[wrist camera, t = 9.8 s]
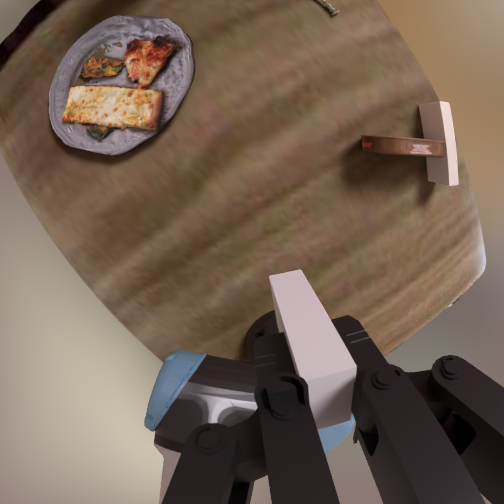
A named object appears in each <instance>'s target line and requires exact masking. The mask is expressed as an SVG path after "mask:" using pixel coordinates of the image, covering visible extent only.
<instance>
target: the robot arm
mask: <svg viewBox="0 0 504 504" xmlns="http://www.w3.org/2000/svg"><path fill="white" fill-rule="evenodd" d="M269 280H270V286H271V291H272V297H273V303H274V308H275V310H273V311H271V312H269V313H267V314H265V315H263V316H262V317H260V318H259V319H258V320H257V321H256V322H255V323H254V324H253V325H252V326H251V328H250V330H249V331H248V334H247V336H246V342H245V345H246V354H247V358H248V360H249V362H250V363H249V362H243V361H237V360H231V359H226V358H220V357H215V356H210V355H207V353H202V354H201V353H194V352H188V351H183V350H177V351H174V352H172V353H170V354H169V355H168V356H167V358H166V359H165V361H164V363H163V365H162V367H161V370H160V372H159V375H158V377H157V380H156V382H155V385H154V388H153V391H152V394H151V397H150V400H149V404H148V408H147V413H146V417H145V427H146V428H148V429H149V430H150V431H155V439H154V445H155V447H156V448H157V449H158V450H159V452H160V453H161V454H162V455H163V457H164V465H163V472H162V481H161V490H160V500H159V504H250V500H251V496H252V491H253V486H254V481H255V480H257V479H259V478H262V477H264V476H266V475H268V479H269V486H270V493H271V500H272V504H340V503H339V500H338V496H337V493H336V489H335V486H334V483H333V479H332V476H331V473H330V470H329V466H328V463H327V460H326V456H325V452H327V451H329V450H331V449H332V448H334V447H335V446H337V445H338V444H340V443H341V442H342V441H343V440H344V439H345V438H346V437H347V436H348V435H349V434H350V432H351V430H352V429H353V426H354V418H355V421H356V427H355V432H354V437H353V440H354V444H355V443H357V440H359V442H360V445H361V447H362V450H363V452H364V455H365V457H366V460H367V462H368V465H369V467H370V470H371V472H372V475H373V477H374V480H375V483H376V485H377V488H378V491H379V493H380V496H381V498H382V501H383V504H485V502H484V500H483V498H482V496H481V494H482V495H483V496H484V497H486V499H488V500H489V501H490V502H491V503H492V504H504V388H503V387H502V386H501V385H499V384H498V383H497V382H495V381H494V380H492V379H491V378H490V377H488V376H487V375H485V374H484V373H483V372H481V371H480V370H478V369H477V368H476V367H474V366H473V365H471V364H470V363H468V362H467V361H466V360H464V359H462V358H460V357H458V356H453V355H448V356H443V357H441V358H439V359H438V360H436V361H435V363H434V364H433V366H432V369H431V370H426V371H419V372H404V371H403V370H402V369H401V368H400V367H397V366H395V365H391V364H389V363H387V361H386V360H385V358H384V357H383V355H382V354H381V352H380V351H379V349H378V348H377V346H376V345H375V344H374V342H373V341H372V339H371V338H369V335H368V334H367V332H366V331H365V330H364V328H363V326H362V325H361V324H360V322H359V321H358V320H356V319H354V318H353V317H351V316H349V315H347V316H343V317H339V318H335V319H332V320H330V318H329V316H328V315H327V313H326V311H325V309H324V308H323V306H322V304H321V303H320V301H319V299H318V298H317V296H316V294H315V292H314V291H313V289H312V287H311V286H310V284H309V282H308V281H307V279H306V277H305V276H304V274H303V272H302V271H301V269H300V270H295V271H291V272H286V273H281V274H276V275H271V276H269ZM480 493H481V494H480Z"/></svg>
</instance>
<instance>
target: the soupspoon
mask: <svg viewBox="0 0 504 504" xmlns="http://www.w3.org/2000/svg"><path fill="white" fill-rule="evenodd" d="M322 2H323V3H324V4H325V5H326V7H327V8H328V9H329V11H330V12H332V14H331V16H332V15H334V14H336V13H338V12H339V11H335V8H333V7H332V6H331V5H330V4H329V3H327V1H326V0H322Z"/></svg>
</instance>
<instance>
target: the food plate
mask: <svg viewBox="0 0 504 504" xmlns="http://www.w3.org/2000/svg"><path fill="white" fill-rule="evenodd" d="M125 36H126V37H128V38H126V37H125ZM124 37H125V38H124ZM114 39H116V40H114ZM119 39H121V40H119ZM117 40H119V41H120V43H122V48H121V47H120V48H119V47H117V46H115V45H114V46H113V45H112V43H114V42H116V43H117V42H119V41H117ZM123 41H124V42H123ZM106 43H107V45H111V47H112V48H111V49H110V47H109V48H108V47H107V48H108V50H110V53H109V54H108V53H106V54H107V55H106V54H104V55H103V56H106V58H102V57H98V56H94V55H93V56H92V57H91V59H90V60H89V62H87V63H86V64H85V65H84V67H83V68H82V66H83V64H84V63H85V61H86V60H87V59H88V58H89V57H90V55H92V54H93V53H94V52H95V51H96V49H98V48H100V47H101V48H104V47H103V45H104V44H106ZM126 43H128V45H126ZM118 46H119V45H118ZM111 50H112V52H111ZM113 50H114V51H113ZM97 52H98V50H97ZM106 52H107V49H106ZM81 68H82V69H81ZM79 74H81V75H82V76H83V77H84V78H85V77H92V80H90V81H89V82H91V83H92V82H96V81H97V83H94V84H91V83H90V84H86V85H81V86H80V85H79V86H77V87H74V86H75V82H76V80H77V78H78V76H79ZM194 74H195V59H194V54H193V43H192V40H191V39H190V37H189V36H188V34H185V32H184V31H183V29H182V28H181V27H179V26H178V25H177V23H175V22H173V21H171V20H169V19H167V18H162V17H152V16H139V15H137V16H136V15H134V16H133V15H125V16H123V15H121V16H120V15H117V16H114V17H111V18H107V19H106V20H104V21H102V22H100V23H99V24H97V25H95V26H94V27H93V28H92V29H90V30H89V31H88V32H86V33H85V34H84V35H83V36H81V38H79V39H78V40H77V41H76V42H75V43H74V44H73V45H72V47H71V48H70V49H69V50H68V52H67V53H66V55H65V56H64V58H63V59H61V63H60V64H59V67H58V69H57V71H56V74H55V77H54V80H53V83H52V85H51V88H50V91H49V114H50V120H51V124H52V128H53V129H54V131H55V133H56V134H57V136H58V137H60V138H61V140H62V141H63V142H64V143H65V144H66V145H70V147H75V148H79V149H80V148H81V149H84V150H88V151H93V152H97V153H98V152H99V153H102V154H103V153H104V154H106V155H107V154H108V155H109V154H110V155H118V154H120V155H121V154H123V153H127V152H129V151H131V150H133V149H135V148H136V147H137V146H140V145H141V144H142V143H144V142H145V141H147V140H149V139H150V138H152V137H154V136H156V135H157V134H159V133H160V131H161V130H162V128H163V127H164V126H165V125H166V124H167V123H168V122H170V121H171V119H172V118H173V117H174V116H175V114H176V112H177V110H178V108H180V106H181V104H182V102H183V100H184V98H185V97H186V95H187V93H188V91H189V89H190V86H191V84H192V82H193V78H194ZM134 80H137V81H138V82H137V83H134Z"/></svg>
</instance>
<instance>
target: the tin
mask: <svg viewBox="0 0 504 504" xmlns="http://www.w3.org/2000/svg"><path fill="white" fill-rule="evenodd" d="M361 137H362V148H363V151H364V152H366V151H370V152H374V153H378V154H387V155H404V156H423V157H444V154H445V141H438V140H429V139H422V138H410V137H398V136H382V135H361Z"/></svg>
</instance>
